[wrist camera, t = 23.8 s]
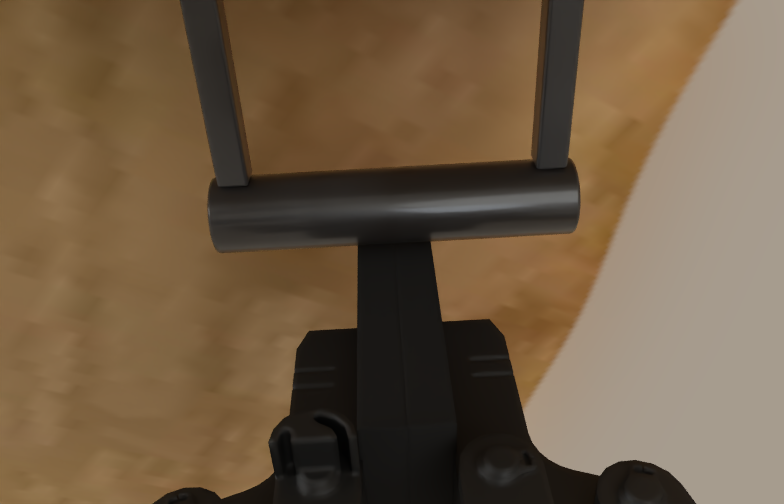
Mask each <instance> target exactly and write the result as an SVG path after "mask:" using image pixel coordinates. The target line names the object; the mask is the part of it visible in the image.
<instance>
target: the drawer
mask: <svg viewBox="0 0 784 504" xmlns="http://www.w3.org/2000/svg"><path fill="white" fill-rule="evenodd" d="M180 4H181V9H182V14H183V19H184V24H185V29H186V34H187V39H188V44H189V49H190V53H191V58H192V63H193V68H194V73H195V78H196V83H197V88H198V93H199V98H200V103H201V108H202V112H203V117H204V122H205V127H206V132H207V137H208V142H209V147H210V152H211V157H212V162H213V167H214V172H215V176H216V177H215V178H213V179H212V181H211V183H210V186H209V191H208V203H207V208H208V223H209V230H210V235H211V239H212V242H213V245H214V247H215V249H216V250H217V252H219V253H236V252H253V251H271V250H289V249H306V248H324V247H342V246H359V245H377V244H395V243H412V242H430V241H448V240H465V239H483V238H501V237H518V236H536V235H554V234H570V233H572V232H574V231H575V229H576V227H577V224H578V221H579V215H580V185H579V178H578V173H577V170H576V167H575V164H574V162H573V161H572V159H570V158H568V155H569V145H570V135H571V125H572V115H573V105H574V96H575V86H576V76H577V66H578V56H579V46H580V37H581V27H582V17H583V7H584V0H542V6H541V21H540V35H539V49H538V64H537V78H536V92H535V107H534V121H533V135H532V150H531V156H532V158H533V159H529V160H511V161H493V162H476V163H458V164H440V165H422V166H404V167H387V168H369V169H351V170H333V171H315V172H297V173H280V174H262V175H251V173H252V168H251V162H250V156H249V150H248V144H247V138H246V133H245V127H244V121H243V115H242V109H241V103H240V97H239V92H238V86H237V80H236V74H235V68H234V62H233V56H232V50H231V45H230V39H229V33H228V27H227V21H226V15H225V9H224V4H223V0H180Z"/></svg>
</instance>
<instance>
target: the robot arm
mask: <svg viewBox="0 0 784 504" xmlns="http://www.w3.org/2000/svg"><path fill="white" fill-rule="evenodd" d="M268 443H269V448H270V453H271V458H272V463H273V468H274V473H273V474H272V475H271V476H270V477H269V478H268V479H266V480H265V481H264V482H262V483H261V484H259V485H258V486H255V487H253V488H251V489H249V490H246V491H244V492H241V493H238V494H235V495H232V496H229V497H226V498H223V499H221V498H220V497H219V496H218V495H217V494H216V493H215V492H212V491H209V490H207V489H204V488H201V487H198V488H182V489H179V490H176V491H173V492H170V493H167V494H166V495H164V496H163V497H162V498H160V499H159V500H157V501H156V502H154V503H153V504H696V503H695V502H694V500H693V499H692V498H691V496H690V495H689V494H688V492H687V491H686V489H685V488H684V487H683V486H682V484H681V483H680V482H679V481H678V480H677V479H676V478H675V477H673V476H672V475H671V474H670V473H669V472H668V471H666V470H664V469H662V468H660V467H658V466H656V465H654V464H651V463H647V462H642V461H637V460H632V461H621V462H617V463H615V464H613V465H611V466H609V467H607V468H606V469H605V470H604V471H603V473H602V474H601V475H600V476H598V475H594V474H589V473H584V472H580V471H575V470H572V469H568V468H565V467H562V466H559V465H558V464H556V463H554V462H552V461H550V460H548V459H547V458H546V457H545V456H544V455H542V454H541V453H540V452H539V451H538V450H537V448H536V447H535V446H534V444H533V443H532V441H531V439H530V436H529V434H528V430H527V426H526V422H525V418H524V414H523V410H522V406H521V402H520V398H519V394H518V390H517V386H516V382H515V378H514V376H513V369H512V365H511V361H510V360H509V353H508V349H507V345H506V341H505V337H504V335H503V334H502V333H501V332H500V331H499V330H498V328H497V327H496V326H495V325H494V324H493V323H492V322H491V321H490V319H483V320H465V321H447V322H442V318H441V311H440V304H439V297H438V290H437V283H436V276H435V269H434V263H433V256H432V249H431V242H412V243H395V244H377V245H359V246H358V300H357V328H351V329H334V330H316V331H309V332H308V333H307V335H306V336H305V338H304V339H303V341H302V342H301V344H300V345H299V347H298V348H297V351H296V360H295V373H294V379H293V390H292V398H291V407H290V415H289V416H287V417H285V418H284V419H283V420H282V421H281V422H280V423H279V424H278V425H277V426H276V427H275V428H274V429H273V432H272V434H271V437H270V439H269V442H268Z"/></svg>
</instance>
